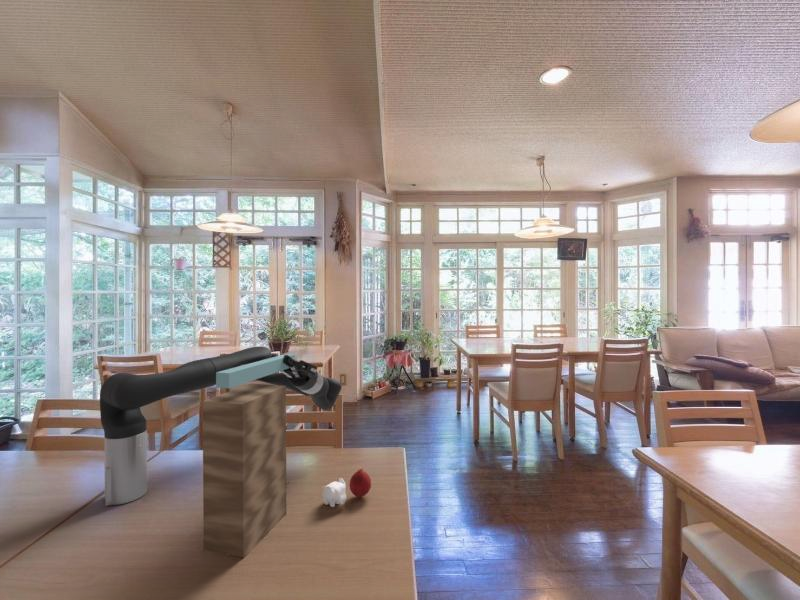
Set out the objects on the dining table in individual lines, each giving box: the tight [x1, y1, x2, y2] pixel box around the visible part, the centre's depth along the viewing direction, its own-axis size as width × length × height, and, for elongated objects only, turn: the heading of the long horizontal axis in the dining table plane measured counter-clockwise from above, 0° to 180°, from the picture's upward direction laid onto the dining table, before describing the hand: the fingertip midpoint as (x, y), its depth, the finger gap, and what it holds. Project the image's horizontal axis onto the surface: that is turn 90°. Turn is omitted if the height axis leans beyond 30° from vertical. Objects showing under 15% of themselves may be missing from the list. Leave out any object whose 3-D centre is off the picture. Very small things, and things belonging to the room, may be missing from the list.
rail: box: [215, 353, 296, 389], centre depth 89 cm, size 26×3×3 cm, turn 165°
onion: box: [349, 467, 372, 499], centre depth 98 cm, size 6×6×8 cm
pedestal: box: [202, 383, 287, 559], centre depth 85 cm, size 16×10×32 cm, turn 165°
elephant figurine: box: [321, 477, 348, 508], centre depth 95 cm, size 7×8×6 cm
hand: (278, 358), depth 96 cm, fingers closed on rail, 3 cm apart
